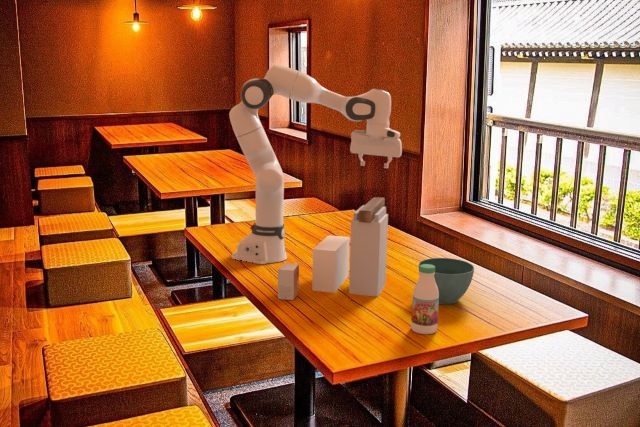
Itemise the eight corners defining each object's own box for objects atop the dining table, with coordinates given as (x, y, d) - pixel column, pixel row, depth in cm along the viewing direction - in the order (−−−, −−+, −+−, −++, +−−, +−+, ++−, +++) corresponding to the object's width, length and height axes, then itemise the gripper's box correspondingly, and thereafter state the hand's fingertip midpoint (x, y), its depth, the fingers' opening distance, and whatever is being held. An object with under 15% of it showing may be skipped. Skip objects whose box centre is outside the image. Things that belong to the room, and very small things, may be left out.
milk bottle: (408, 325, 200) (411, 262, 196) (433, 324, 201) (437, 261, 197) (414, 335, 193) (417, 270, 189) (440, 334, 194) (443, 269, 189)
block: (312, 290, 230) (312, 249, 227) (327, 273, 249) (328, 235, 246) (334, 292, 228) (335, 251, 225) (348, 275, 247) (349, 237, 243)
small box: (293, 300, 220) (293, 270, 218) (277, 299, 221) (277, 269, 219) (299, 292, 228) (299, 263, 225) (283, 291, 229) (283, 262, 226)
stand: (349, 293, 227) (351, 213, 221) (358, 281, 241) (360, 204, 234) (377, 296, 225) (380, 215, 218) (385, 284, 238) (388, 207, 232)
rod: (358, 221, 220) (359, 210, 219) (373, 207, 242) (374, 197, 241) (370, 222, 218) (370, 211, 218) (384, 208, 241) (384, 197, 240)
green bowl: (460, 314, 210) (462, 277, 208) (408, 302, 220) (409, 267, 217) (479, 297, 225) (481, 263, 223) (429, 288, 235) (431, 254, 232)
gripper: (349, 129, 257) (346, 164, 259) (401, 133, 251) (398, 169, 253) (353, 129, 263) (350, 163, 265) (404, 133, 257) (400, 168, 259)
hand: (374, 166), depth 259 cm, fingers open, 8 cm apart
